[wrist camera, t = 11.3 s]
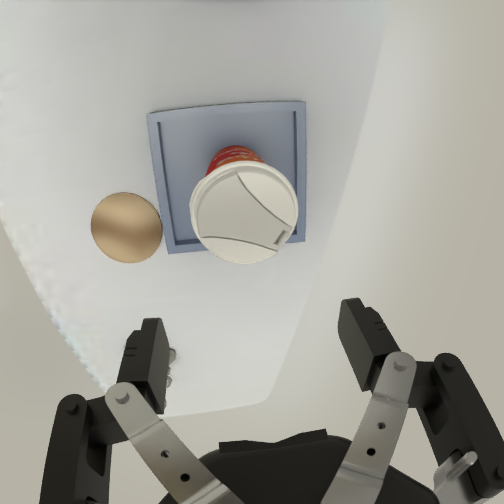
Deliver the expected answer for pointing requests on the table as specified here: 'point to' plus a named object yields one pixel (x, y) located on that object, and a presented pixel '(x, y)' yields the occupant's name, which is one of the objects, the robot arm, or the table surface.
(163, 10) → the table surface
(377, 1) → the table surface
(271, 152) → the tray
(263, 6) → the table surface
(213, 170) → the paper cup
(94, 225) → the cork coaster
